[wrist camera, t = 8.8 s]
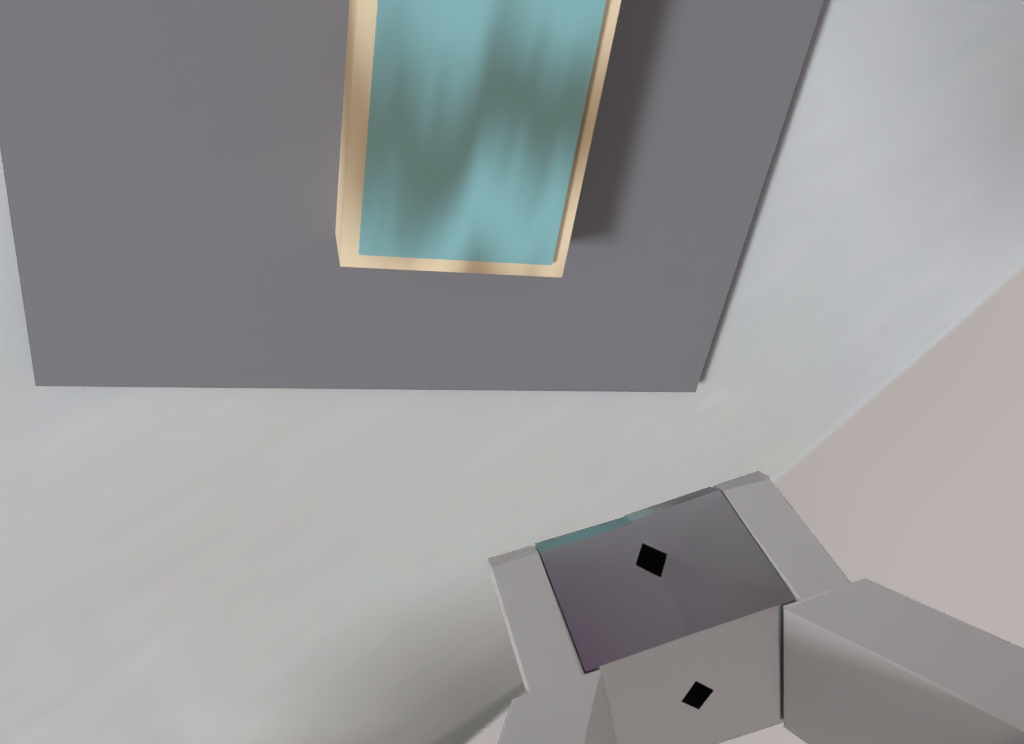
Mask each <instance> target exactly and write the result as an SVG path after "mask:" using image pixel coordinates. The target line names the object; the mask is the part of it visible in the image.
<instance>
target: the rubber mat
mask: <svg viewBox="0 0 1024 744" xmlns="http://www.w3.org/2000/svg"><path fill="white" fill-rule="evenodd" d="M823 2H824V0H621V4H620V9H619V14H618V18H617V23H616V28H615V32H614V37H613V42H612V47H611V51H610V56H609V61H608V65H607V70H606V75H605V79H604V84H603V89H602V93H601V98H600V103H599V107H598V112H597V117H596V121H595V126H594V131H593V135H592V140H591V145H590V149H589V154H588V159H587V163H586V168H585V173H584V177H583V182H582V187H581V191H580V196H579V201H578V205H577V210H576V215H575V219H574V224H573V229H572V233H571V238H570V243H569V247H568V252H567V257H566V261H565V266H564V271H563V276H562V278H560V277H540V276H520V275H500V274H479V273H459V272H439V271H419V270H399V269H379V268H358V267H340V262H339V255H338V248H337V241H336V235H335V228H336V212H337V195H338V179H339V162H340V146H341V129H342V112H343V96H344V79H345V63H346V46H347V30H348V13H349V0H0V149H1V156H2V162H3V169H4V176H5V182H6V189H7V196H8V203H9V209H10V216H11V223H12V229H13V236H14V243H15V250H16V256H17V263H18V270H19V276H20V283H21V290H22V296H23V303H24V310H25V317H26V323H27V330H28V337H29V343H30V350H31V357H32V364H33V370H34V377H35V384H36V386H95V387H200V388H306V389H411V390H517V391H623V392H696V389H697V386H698V383H699V380H700V377H701V374H702V371H703V368H704V364H705V361H706V358H707V355H708V352H709V349H710V346H711V343H712V340H713V337H714V334H715V331H716V328H717V325H718V322H719V319H720V316H721V313H722V310H723V307H724V304H725V301H726V297H727V294H728V291H729V288H730V285H731V282H732V279H733V276H734V273H735V270H736V267H737V264H738V261H739V258H740V255H741V252H742V249H743V246H744V243H745V240H746V237H747V234H748V230H749V227H750V224H751V221H752V218H753V215H754V212H755V209H756V206H757V203H758V200H759V197H760V194H761V191H762V188H763V185H764V182H765V179H766V176H767V173H768V170H769V167H770V164H771V160H772V157H773V154H774V151H775V148H776V145H777V142H778V139H779V136H780V133H781V130H782V127H783V124H784V121H785V118H786V115H787V112H788V109H789V106H790V103H791V100H792V97H793V93H794V90H795V87H796V84H797V81H798V78H799V75H800V72H801V69H802V66H803V63H804V60H805V57H806V54H807V51H808V48H809V45H810V42H811V39H812V36H813V33H814V30H815V26H816V23H817V20H818V17H819V14H820V11H821V8H822V5H823Z"/></svg>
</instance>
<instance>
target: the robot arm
mask: <svg viewBox="0 0 1024 744" xmlns="http://www.w3.org/2000/svg"><path fill="white" fill-rule="evenodd" d="M488 564H489V570H490V574H491V577H492V581H493V584H494V587H495V591H496V594H497V597H498V601H499V604H500V607H501V611H502V614H503V617H504V620H505V624H506V627H507V630H508V634H509V637H510V640H511V644H512V647H513V650H514V653H515V657H516V660H517V663H518V667H519V670H520V673H521V677H522V680H523V683H524V687H525V690H526V693H527V694H525V695H522V696H520V697H517V698H514V699H512V702H511V705H510V708H509V711H508V714H507V717H506V720H505V723H504V726H503V729H502V732H501V735H500V738H499V742H498V744H718V743H721V742H724V741H727V740H730V739H733V738H736V737H740V736H742V735H746V734H749V733H752V732H755V731H758V730H761V729H764V728H767V727H770V726H773V725H776V724H780V723H782V722H784V727H785V728H786V729H788V730H789V731H791V732H792V733H793V734H795V735H796V736H798V737H799V738H800V739H802V740H803V741H805V742H806V743H808V744H1024V648H1021V647H1019V646H1017V645H1015V644H1013V643H1010V642H1008V641H1006V640H1003V639H1001V638H999V637H997V636H995V635H992V634H990V633H988V632H986V631H983V630H981V629H979V628H976V627H974V626H972V625H970V624H967V623H965V622H963V621H961V620H958V619H956V618H954V617H951V616H949V615H947V614H945V613H943V612H940V611H938V610H936V609H934V608H931V607H929V606H927V605H925V604H922V603H920V602H918V601H916V600H913V599H911V598H909V597H906V596H904V595H902V594H900V593H897V592H895V591H893V590H891V589H888V588H886V587H884V586H881V585H879V584H877V583H875V582H873V581H870V580H868V579H866V578H865V579H862V580H858V581H855V582H852V583H851V582H850V581H849V579H848V578H847V577H846V575H845V574H844V573H843V571H842V570H841V569H840V568H839V566H838V565H837V564H836V563H835V561H834V560H833V559H832V557H831V556H830V555H829V554H828V552H827V551H826V550H825V549H824V547H823V546H822V545H821V543H820V542H819V541H818V540H817V538H816V537H815V536H814V535H813V533H812V532H811V531H810V529H809V528H808V527H807V526H806V524H805V523H804V522H803V520H802V519H801V518H800V517H799V515H798V514H797V513H796V512H795V510H794V509H793V508H792V507H791V505H790V504H789V503H788V501H787V500H786V499H785V497H784V496H783V495H782V494H781V492H780V491H779V490H778V489H777V487H776V486H775V485H774V483H773V482H772V481H771V480H770V478H769V477H768V476H767V475H765V474H763V473H761V472H759V471H757V472H754V473H751V474H748V475H745V476H742V477H739V478H736V479H733V480H730V481H727V482H724V483H721V484H718V485H715V486H714V487H713V488H712V487H708V488H705V489H702V490H699V491H696V492H693V493H690V494H687V495H684V496H681V497H678V498H675V499H672V500H669V501H666V502H664V503H661V504H658V505H655V506H652V507H649V508H646V509H643V510H640V511H637V512H634V513H631V514H628V515H625V516H624V517H622V518H619V519H616V520H612V521H609V522H606V523H602V524H599V525H596V526H592V527H589V528H586V529H582V530H579V531H576V532H572V533H569V534H566V535H562V536H559V537H556V538H552V539H549V540H546V541H542V542H539V543H535V546H534V545H532V546H528V547H525V548H522V549H518V550H515V551H512V552H508V553H505V554H502V555H498V556H495V557H492V558H488Z"/></svg>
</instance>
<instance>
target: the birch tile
mask: <svg viewBox="0 0 1024 744" xmlns="http://www.w3.org/2000/svg"><path fill="white" fill-rule="evenodd" d="M620 4H621V0H349V13H348V30H347V46H346V63H345V79H344V96H343V112H342V129H341V146H340V162H339V179H338V195H337V212H336V228H335V235H336V241H337V248H338V255H339V262H340V267H358V268H379V269H399V270H419V271H439V272H459V273H479V274H500V275H520V276H540V277H560V278H562V276H563V271H564V266H565V261H566V257H567V252H568V247H569V243H570V238H571V233H572V229H573V224H574V219H575V215H576V210H577V205H578V201H579V196H580V191H581V187H582V182H583V177H584V173H585V168H586V163H587V159H588V154H589V149H590V145H591V140H592V135H593V131H594V126H595V121H596V117H597V112H598V107H599V103H600V98H601V93H602V89H603V84H604V79H605V75H606V70H607V65H608V61H609V56H610V51H611V47H612V42H613V37H614V32H615V28H616V23H617V18H618V14H619V9H620Z"/></svg>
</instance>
